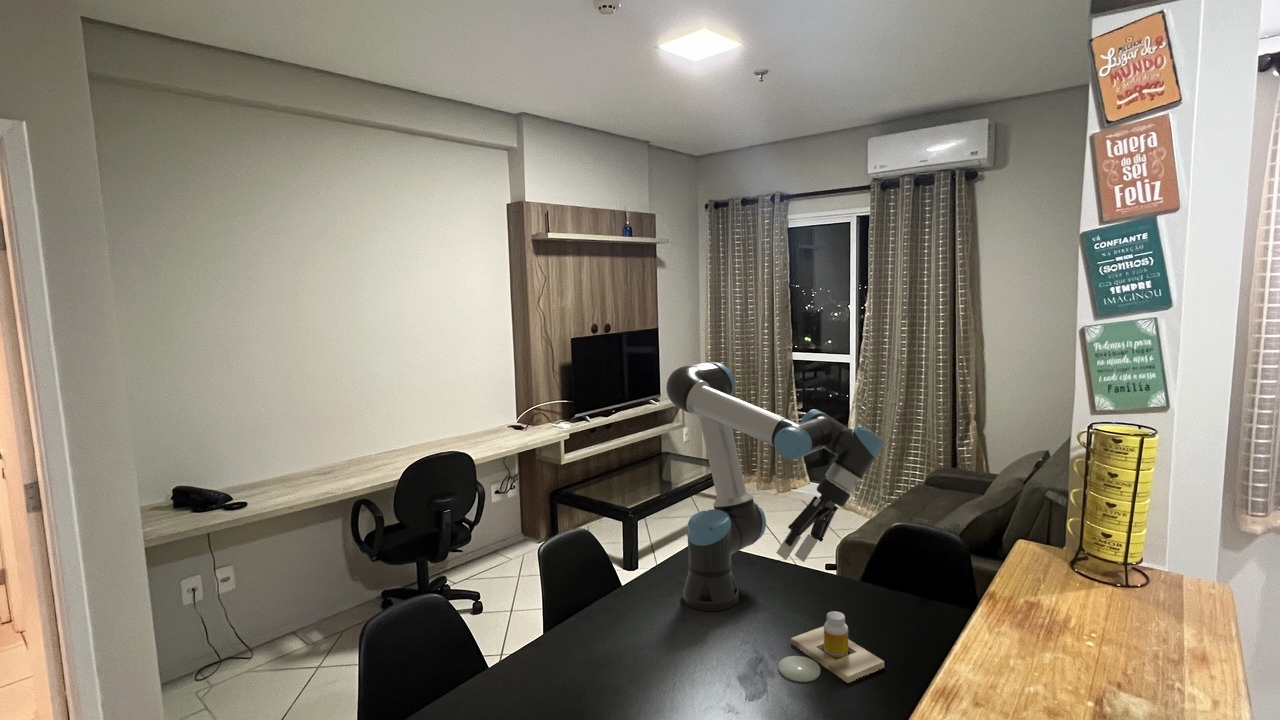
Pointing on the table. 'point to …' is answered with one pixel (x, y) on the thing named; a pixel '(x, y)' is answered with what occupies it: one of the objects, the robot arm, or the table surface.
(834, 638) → the supplement bottle
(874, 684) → the table surface
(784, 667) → the pale green oval pebble
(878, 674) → the table surface
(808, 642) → the socket plate
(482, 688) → the table surface
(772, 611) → the table surface
